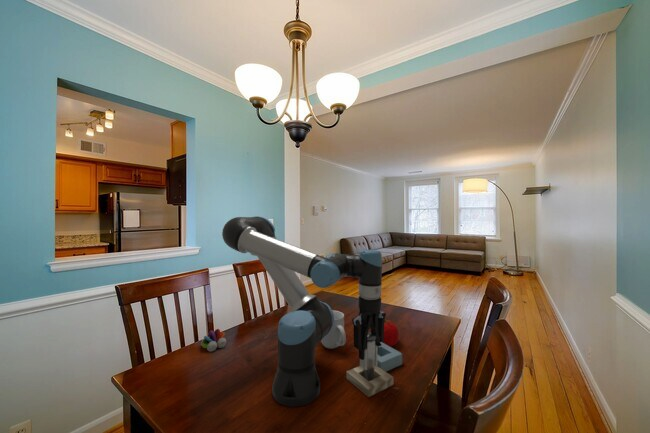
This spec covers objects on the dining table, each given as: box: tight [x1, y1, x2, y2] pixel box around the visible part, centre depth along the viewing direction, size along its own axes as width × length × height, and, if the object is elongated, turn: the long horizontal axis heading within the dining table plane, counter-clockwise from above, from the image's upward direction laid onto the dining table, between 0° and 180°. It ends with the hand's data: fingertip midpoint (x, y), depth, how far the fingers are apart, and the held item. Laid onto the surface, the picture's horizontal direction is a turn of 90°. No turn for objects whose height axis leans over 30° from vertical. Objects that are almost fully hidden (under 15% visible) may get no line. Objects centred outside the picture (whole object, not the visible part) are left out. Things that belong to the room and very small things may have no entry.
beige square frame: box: [345, 365, 394, 398], centre depth 89 cm, size 11×11×2 cm
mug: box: [320, 309, 347, 350], centre depth 112 cm, size 15×11×13 cm
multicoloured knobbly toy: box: [200, 328, 227, 353], centre depth 112 cm, size 8×10×7 cm
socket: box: [377, 342, 403, 373], centre depth 101 cm, size 11×11×4 cm
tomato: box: [382, 319, 399, 348], centre depth 115 cm, size 12×12×10 cm
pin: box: [362, 331, 376, 381], centre depth 89 cm, size 5×5×14 cm
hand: (368, 365), depth 89 cm, fingers closed on pin, 4 cm apart
